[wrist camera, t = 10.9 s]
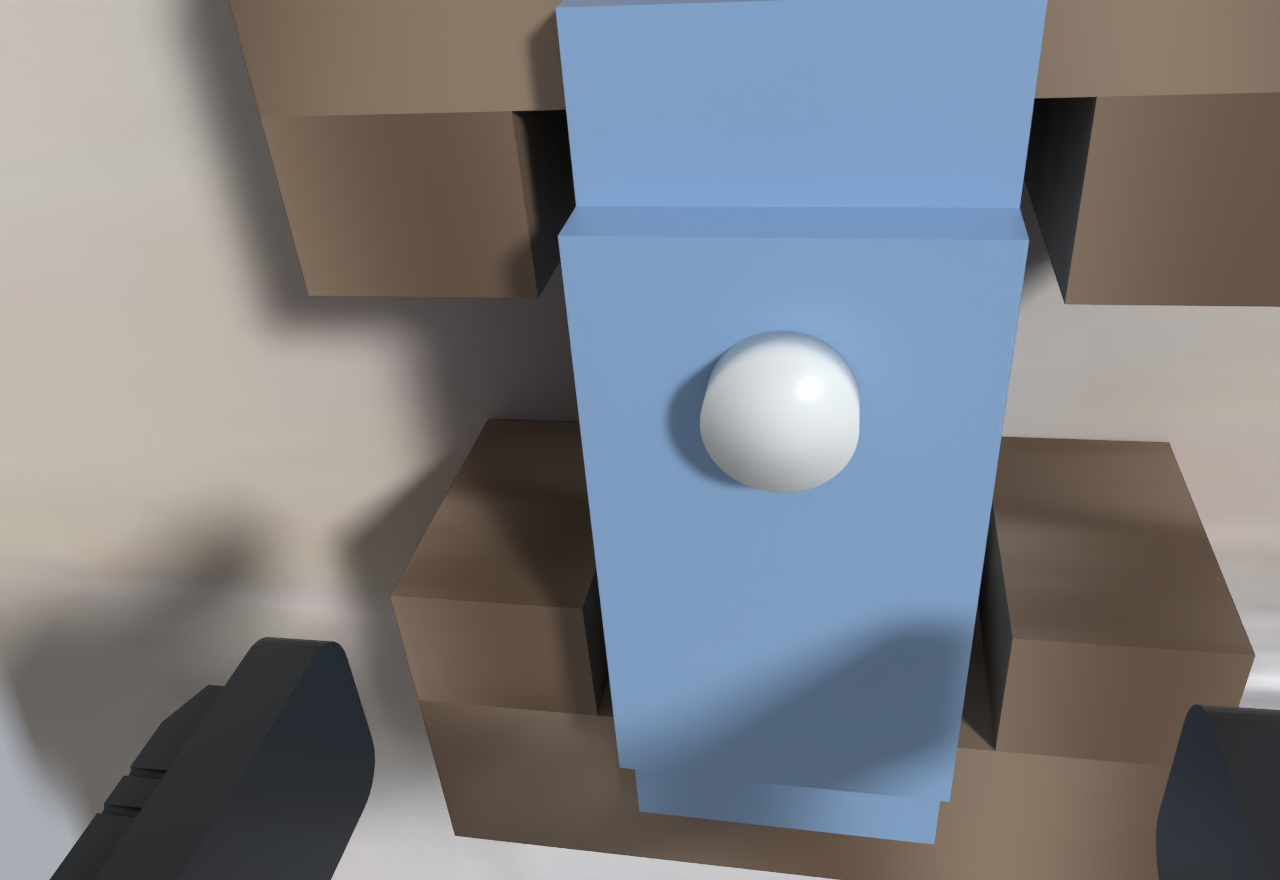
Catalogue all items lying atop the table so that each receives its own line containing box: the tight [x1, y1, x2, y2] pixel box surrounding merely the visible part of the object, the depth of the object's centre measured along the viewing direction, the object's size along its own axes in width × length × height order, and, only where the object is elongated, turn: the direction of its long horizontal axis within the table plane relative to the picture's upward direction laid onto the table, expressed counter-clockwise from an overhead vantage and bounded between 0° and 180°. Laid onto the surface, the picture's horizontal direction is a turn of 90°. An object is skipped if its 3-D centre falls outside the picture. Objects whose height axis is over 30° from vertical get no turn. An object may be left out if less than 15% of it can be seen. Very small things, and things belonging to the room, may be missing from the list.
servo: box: [556, 0, 1048, 844], centre depth 15 cm, size 4×12×7 cm, turn 4°
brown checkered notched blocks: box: [229, 0, 1280, 880], centre depth 16 cm, size 12×16×5 cm
